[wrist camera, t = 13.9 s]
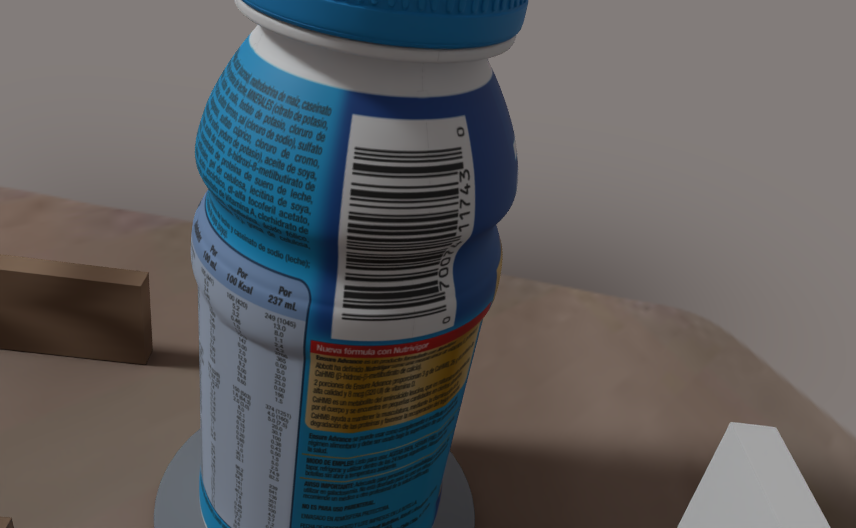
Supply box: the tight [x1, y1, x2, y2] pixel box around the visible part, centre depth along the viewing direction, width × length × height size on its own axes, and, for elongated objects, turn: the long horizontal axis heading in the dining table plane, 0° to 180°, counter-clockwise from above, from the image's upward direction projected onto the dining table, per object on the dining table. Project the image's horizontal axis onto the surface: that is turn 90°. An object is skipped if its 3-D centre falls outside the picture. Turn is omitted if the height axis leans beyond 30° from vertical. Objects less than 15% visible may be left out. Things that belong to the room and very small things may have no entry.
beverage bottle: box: [191, 0, 528, 528], centre depth 21 cm, size 8×8×20 cm
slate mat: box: [154, 428, 475, 528], centre depth 27 cm, size 11×11×1 cm
